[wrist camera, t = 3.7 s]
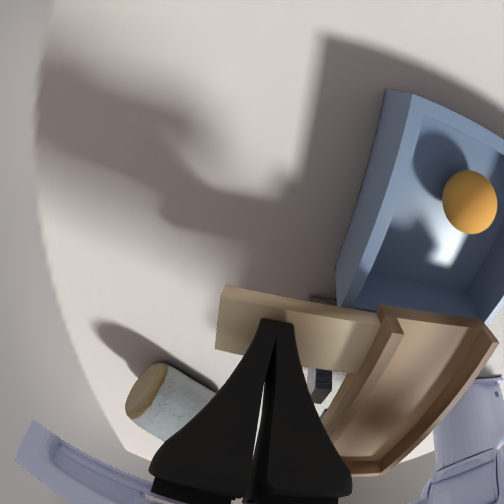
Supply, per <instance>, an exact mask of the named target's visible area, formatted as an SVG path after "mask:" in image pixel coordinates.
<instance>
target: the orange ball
mask: <svg viewBox="0 0 504 504" xmlns="http://www.w3.org/2000/svg"><path fill="white" fill-rule="evenodd" d="M442 205H443V210H444V213H445V215H446V217H447V219H448V221H449V222H450V223H451V224H452V226H453V227H455V228H456V229H457V230H459V231H461V232H463V233H467V234H477V233H480V232H482V231H484V230H485V229H487V228H488V227H489V226H490V225H491V223H492V222H493V220H494V218H495V215H496V211H497V197H496V193H495V190H494V188H493V186H492V185H491V183H490V182H489V180H488V179H487V178H486V177H484V176H483V175H482V174H480V173H478V172H475V171H472V170H464V171H460V172H457V173H456V174H454V175H453V176H452V177H451V178H450V179H449V180H448V181H447V183H446V185H445V187H444V190H443V195H442Z"/></svg>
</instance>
